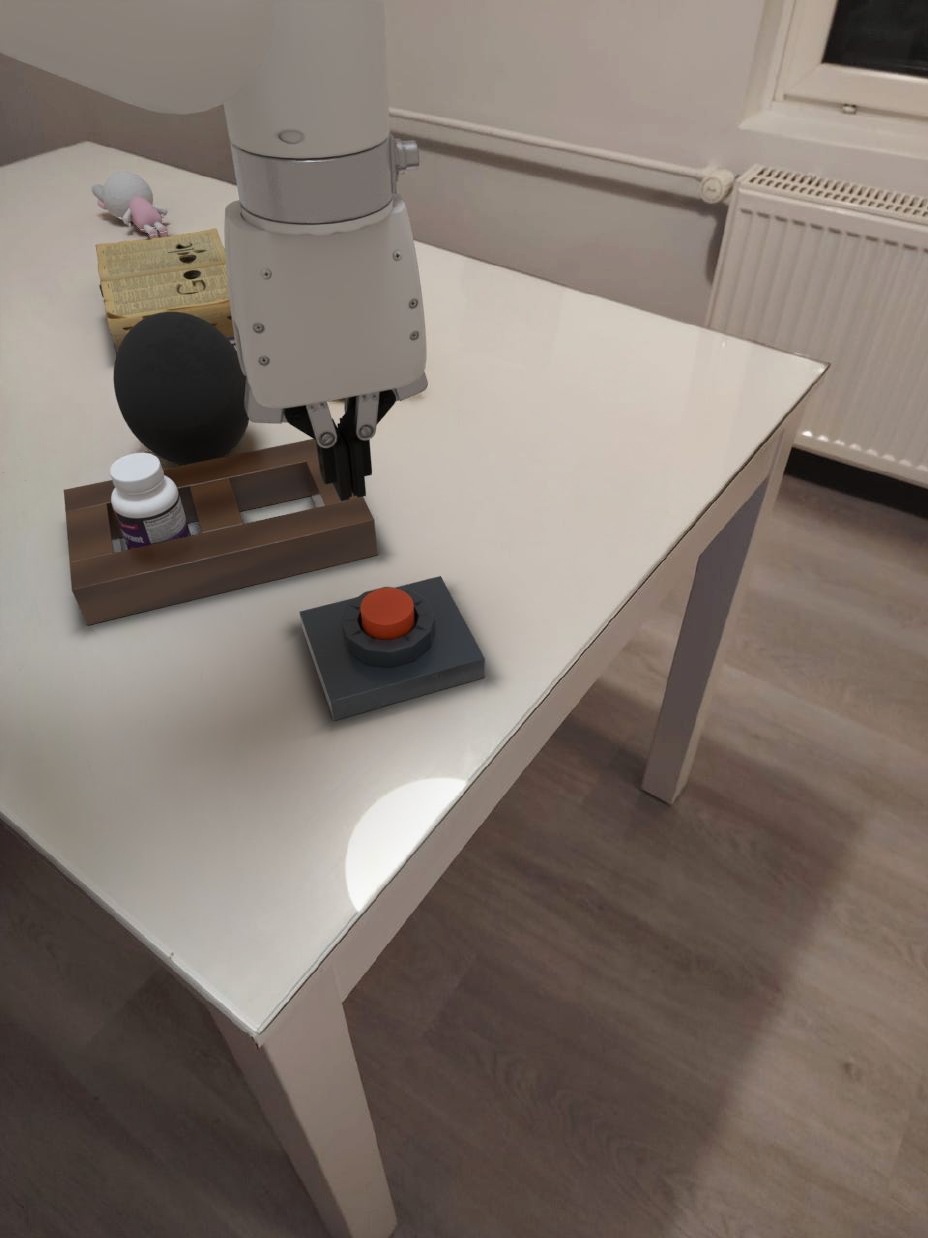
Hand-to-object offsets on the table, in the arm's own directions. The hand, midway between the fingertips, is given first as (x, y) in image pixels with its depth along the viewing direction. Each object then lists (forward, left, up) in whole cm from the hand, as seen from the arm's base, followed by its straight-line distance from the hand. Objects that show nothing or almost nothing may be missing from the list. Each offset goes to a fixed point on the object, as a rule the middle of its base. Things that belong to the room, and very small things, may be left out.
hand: (347, 486), depth 55 cm
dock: (-8, +20, -18) cm, 28 cm away
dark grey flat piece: (+2, +1, -18) cm, 18 cm away
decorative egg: (-8, +34, -18) cm, 39 cm away
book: (-6, +69, -18) cm, 72 cm away
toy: (-7, +100, -18) cm, 102 cm away
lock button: (+2, +1, -14) cm, 14 cm away
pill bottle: (-13, +20, -18) cm, 30 cm away
